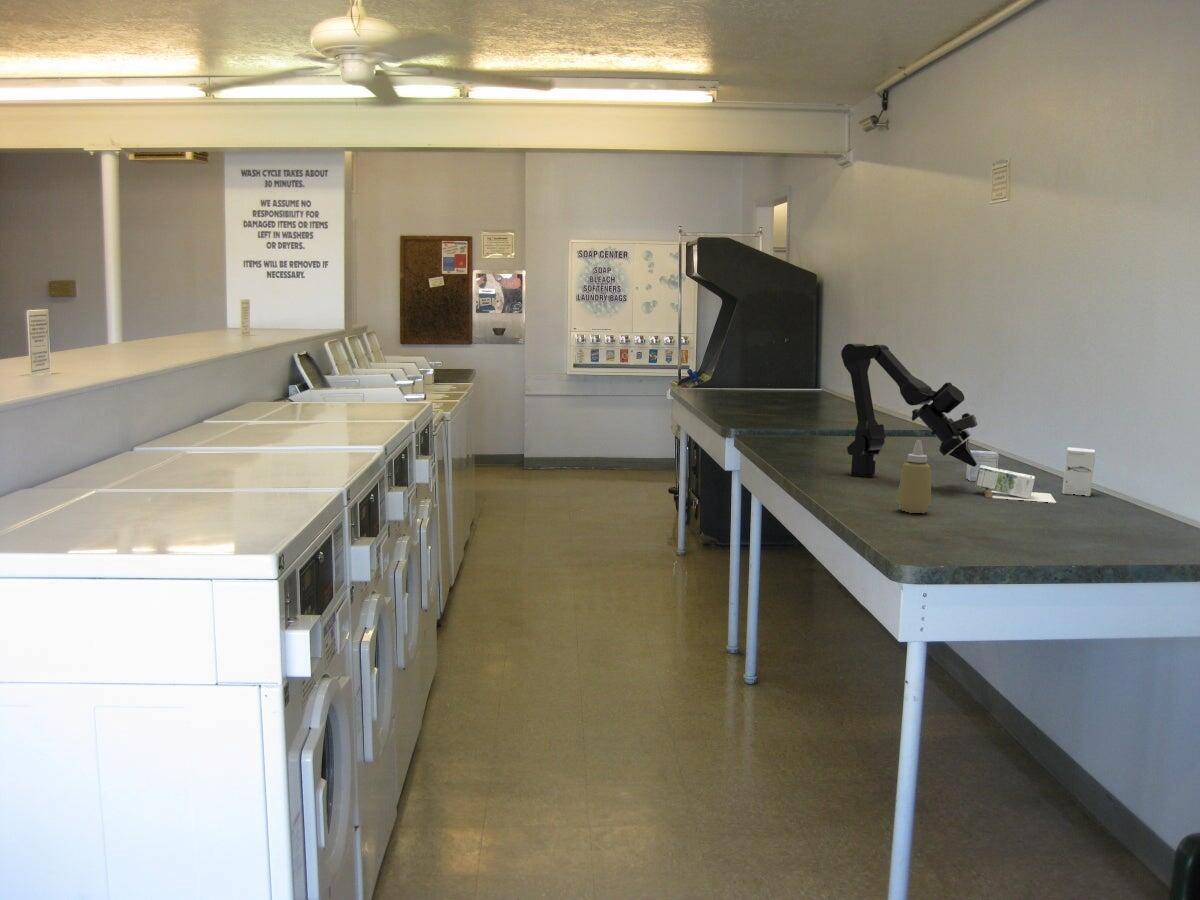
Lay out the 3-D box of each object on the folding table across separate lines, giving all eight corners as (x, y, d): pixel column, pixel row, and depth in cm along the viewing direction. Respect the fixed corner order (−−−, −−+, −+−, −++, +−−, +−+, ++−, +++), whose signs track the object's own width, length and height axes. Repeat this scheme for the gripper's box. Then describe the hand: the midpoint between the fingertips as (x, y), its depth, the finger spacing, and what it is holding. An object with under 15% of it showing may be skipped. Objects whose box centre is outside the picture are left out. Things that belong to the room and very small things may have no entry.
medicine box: (992, 480, 323) (995, 451, 322) (996, 482, 318) (999, 453, 317) (965, 478, 324) (967, 450, 322) (968, 481, 319) (971, 452, 318)
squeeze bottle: (930, 510, 272) (936, 439, 269) (929, 516, 264) (935, 443, 261) (897, 507, 274) (902, 437, 272) (895, 513, 267) (900, 441, 264)
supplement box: (1061, 494, 303) (1066, 449, 301) (1062, 490, 310) (1067, 446, 308) (1090, 497, 300) (1095, 451, 298) (1090, 493, 307) (1095, 448, 305)
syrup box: (976, 484, 302) (1030, 496, 296) (974, 487, 296) (1030, 499, 291) (980, 464, 301) (1035, 475, 295) (978, 466, 295) (1035, 478, 290)
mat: (992, 498, 292) (992, 497, 292) (989, 489, 305) (989, 488, 305) (1056, 503, 288) (1056, 502, 288) (1050, 494, 301) (1050, 493, 301)
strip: (985, 497, 294) (985, 491, 293) (982, 489, 305) (983, 484, 305) (991, 497, 293) (992, 491, 293) (988, 490, 305) (989, 484, 304)
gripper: (955, 406, 290) (995, 451, 287) (965, 401, 307) (1003, 443, 304) (923, 432, 295) (961, 477, 292) (934, 426, 311) (971, 468, 308)
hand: (975, 465), depth 299 cm, fingers closed
